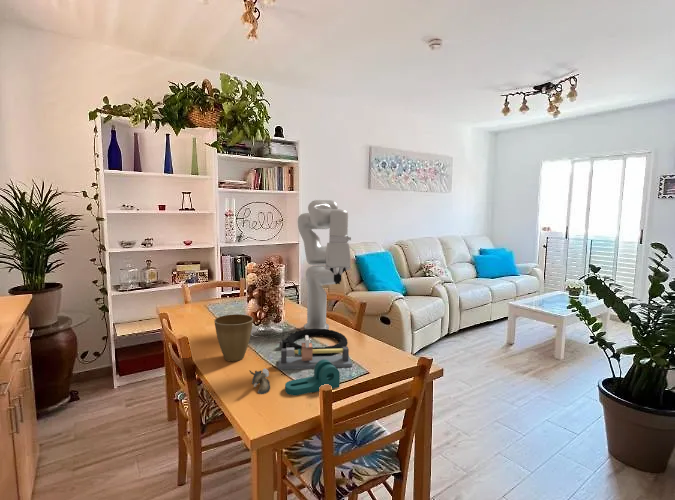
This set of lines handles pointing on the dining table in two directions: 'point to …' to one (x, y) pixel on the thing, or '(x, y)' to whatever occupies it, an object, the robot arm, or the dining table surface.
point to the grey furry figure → (261, 380)
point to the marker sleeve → (307, 350)
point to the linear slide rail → (313, 358)
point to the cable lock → (314, 332)
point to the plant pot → (233, 335)
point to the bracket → (315, 379)
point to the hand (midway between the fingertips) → (337, 283)
